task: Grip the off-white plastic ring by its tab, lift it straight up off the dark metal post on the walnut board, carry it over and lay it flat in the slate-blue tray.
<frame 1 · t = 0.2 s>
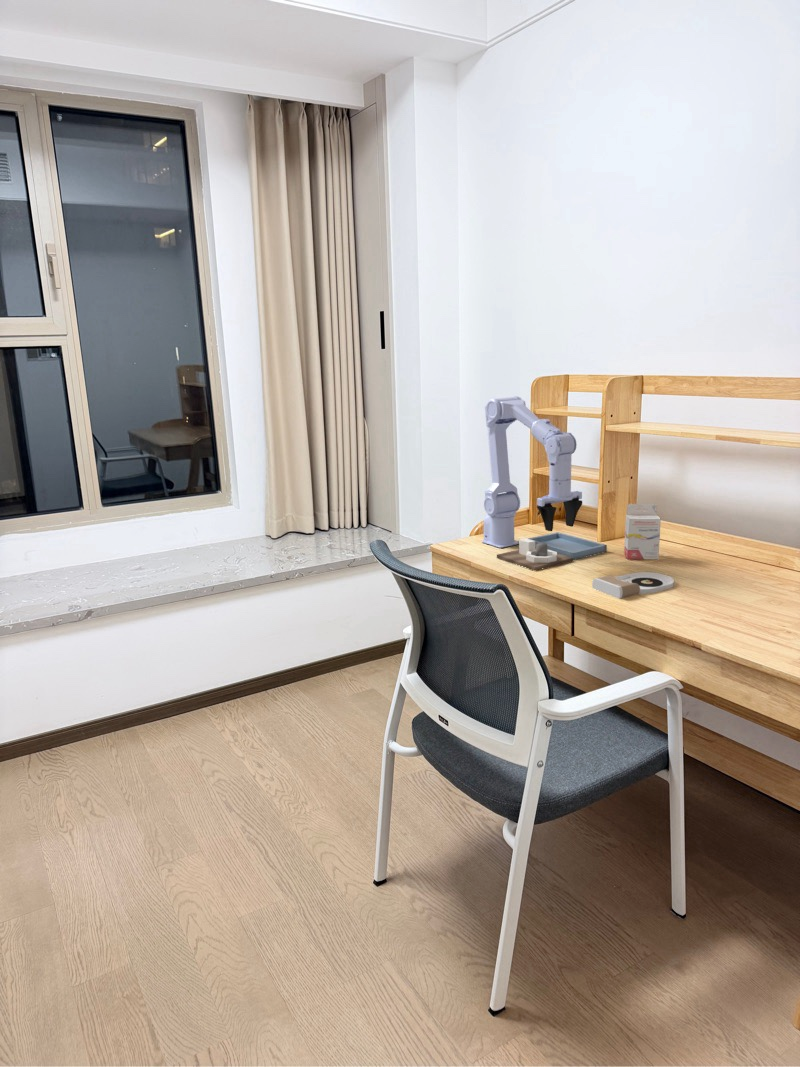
hand: (559, 528, 203), 10 cm above the table, tool pointing down, fingers open, 7 cm apart
ink cartridge box: (641, 558, 208), on the table
record player: (636, 588, 184), on the table
tray: (565, 548, 219), on the table
stake board: (534, 559, 210), on the table
ring: (541, 558, 207), point 1 cm above the table, touching stake board
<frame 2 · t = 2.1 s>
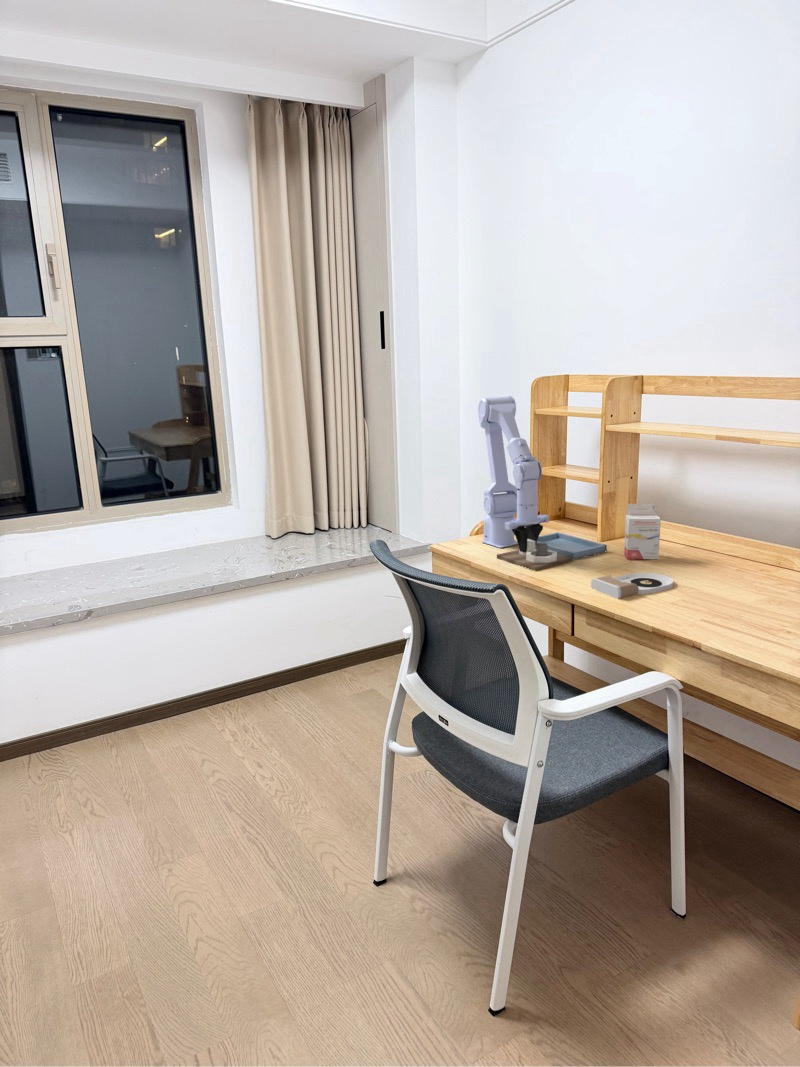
hand: (527, 550, 212), 2 cm above the table, tool pointing down, fingers closed on ring, 2 cm apart
ring: (541, 558, 207), point 1 cm above the table, touching gripper, stake board
everything else where it was.
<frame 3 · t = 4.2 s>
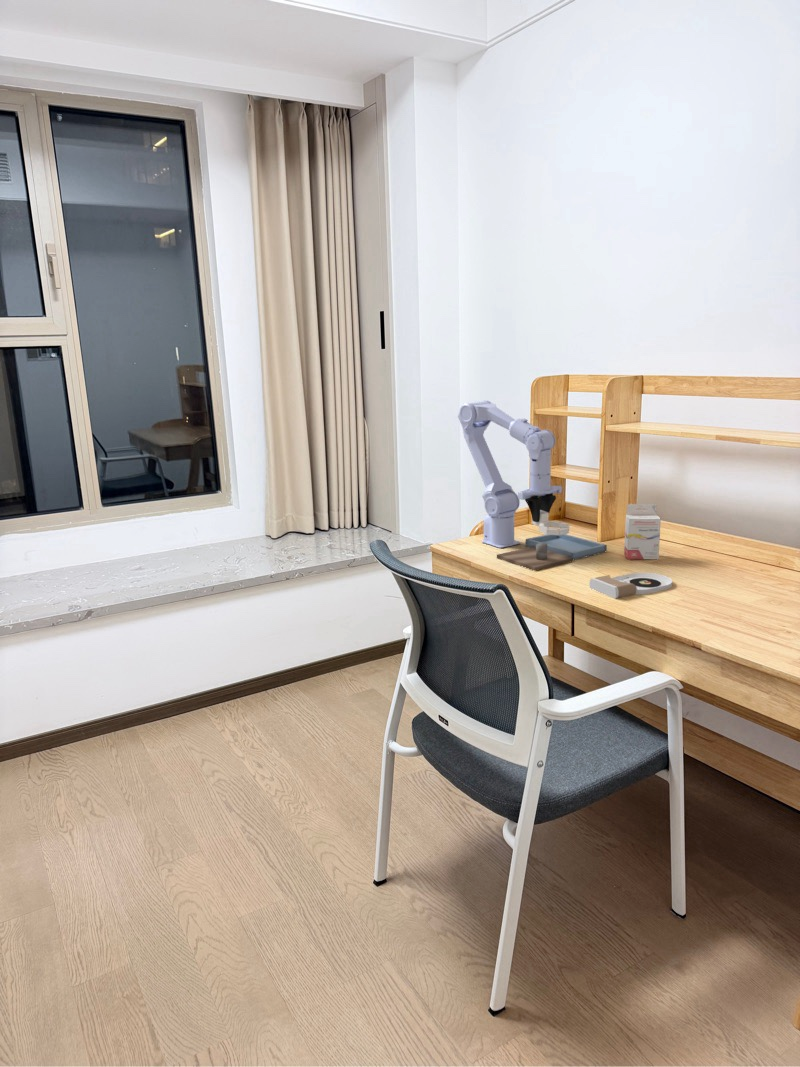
hand: (540, 520, 215), 9 cm above the table, tool pointing down, fingers closed on ring, 2 cm apart
ring: (554, 530, 210), point 8 cm above the table, touching gripper
everything else where it was.
when the fingers open (3 cm above the table, at t = 6.2 s): ring stays where it is, resting on tray.
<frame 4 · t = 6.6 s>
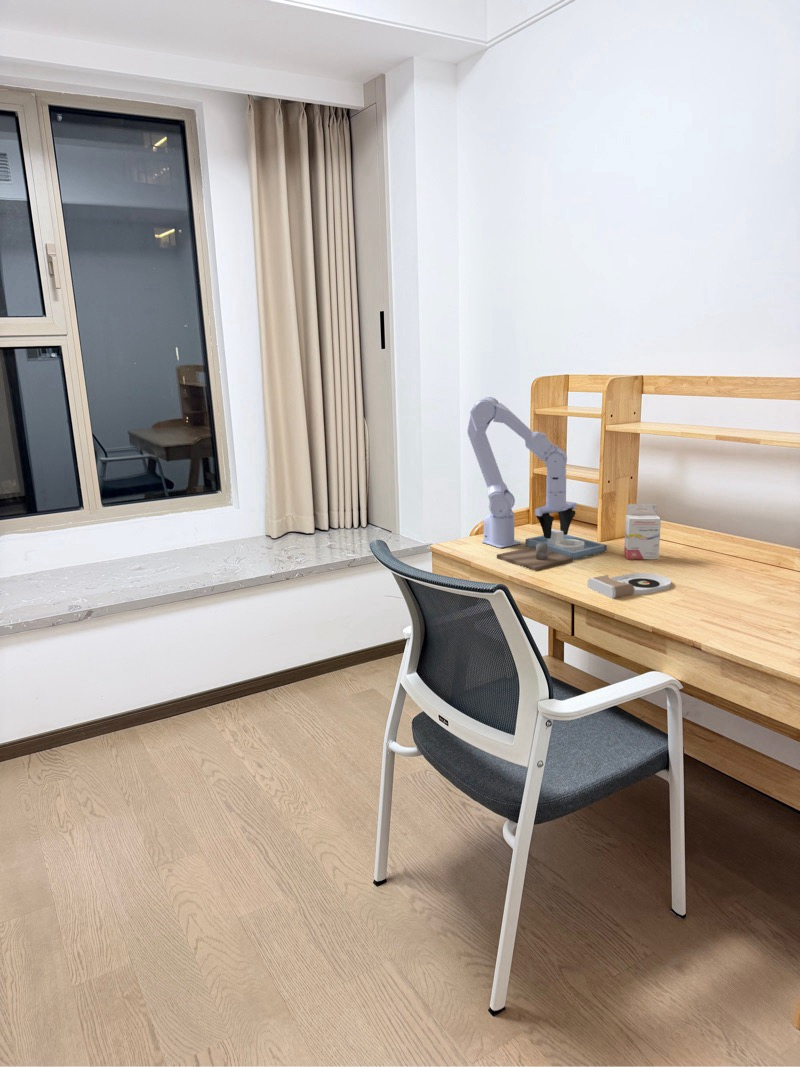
hand: (555, 536, 222), 3 cm above the table, tool pointing down, fingers open, 6 cm apart
ring: (569, 547, 218), point 1 cm above the table, touching tray
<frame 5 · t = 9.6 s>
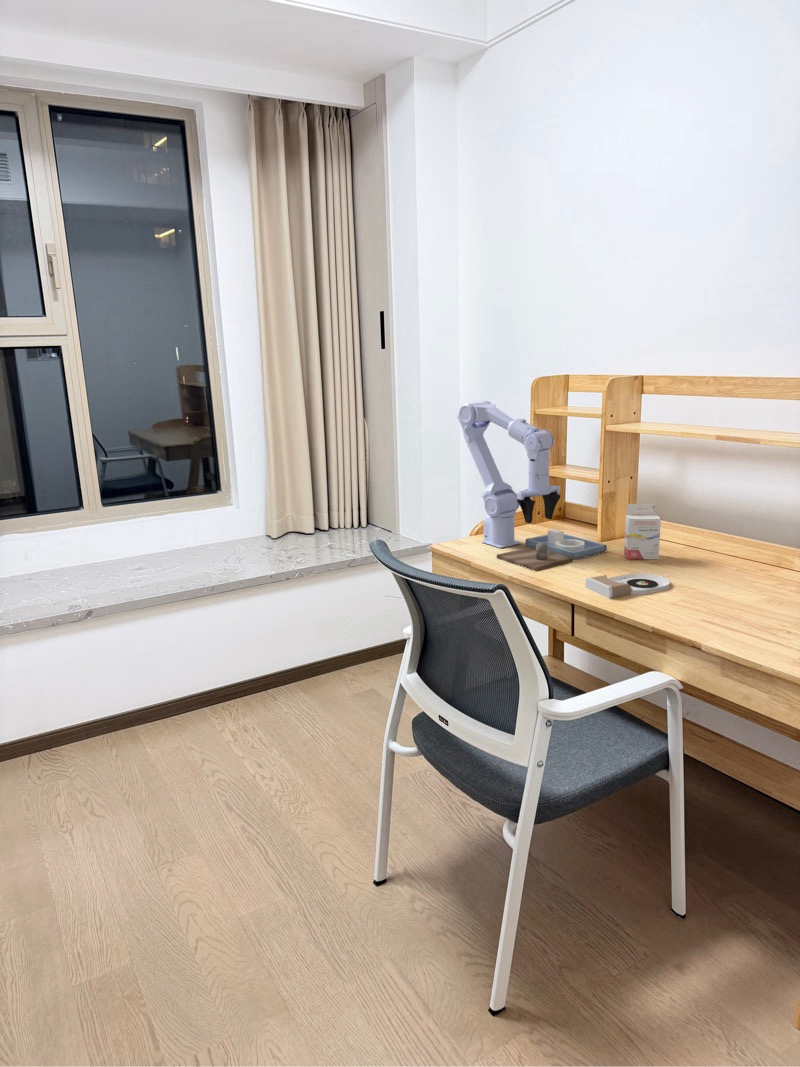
hand: (538, 520, 214), 9 cm above the table, tool pointing down, fingers open, 7 cm apart
at the end: ring inside the target area on the tray (1.4 cm from its centre), point 0.6 cm above the tray's base; ring tilted 0°; the gripper is holding nothing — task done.
